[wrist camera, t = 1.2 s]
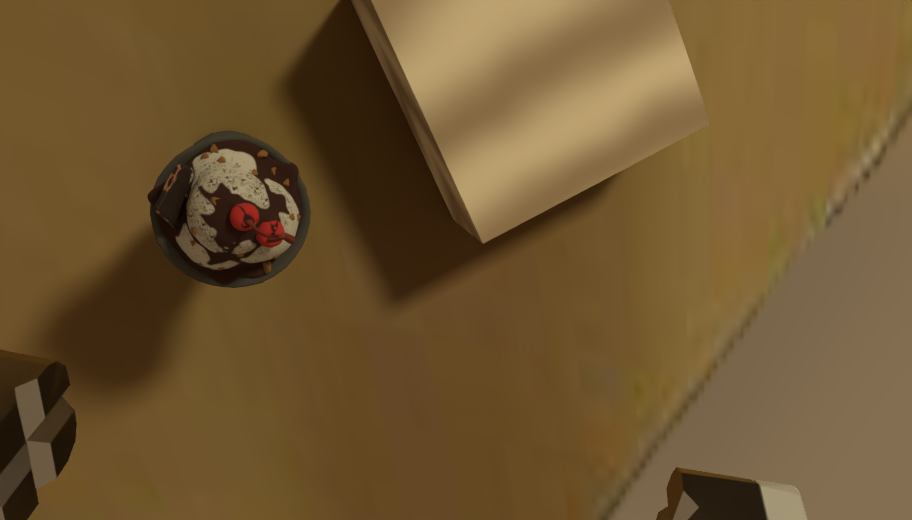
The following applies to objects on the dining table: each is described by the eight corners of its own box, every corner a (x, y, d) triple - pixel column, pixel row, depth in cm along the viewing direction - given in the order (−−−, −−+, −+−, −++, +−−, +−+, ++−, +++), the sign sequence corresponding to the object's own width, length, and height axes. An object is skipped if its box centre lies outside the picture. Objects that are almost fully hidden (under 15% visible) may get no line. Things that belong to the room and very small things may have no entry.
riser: (346, -10, 46) (364, -15, 41) (574, -119, 48) (622, -138, 42) (453, 220, 51) (483, 243, 45) (657, 113, 52) (710, 123, 47)
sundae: (316, 195, 48) (356, 262, 34) (210, 259, 48) (207, 354, 34) (250, 90, 46) (265, 116, 32) (138, 156, 46) (104, 212, 31)
